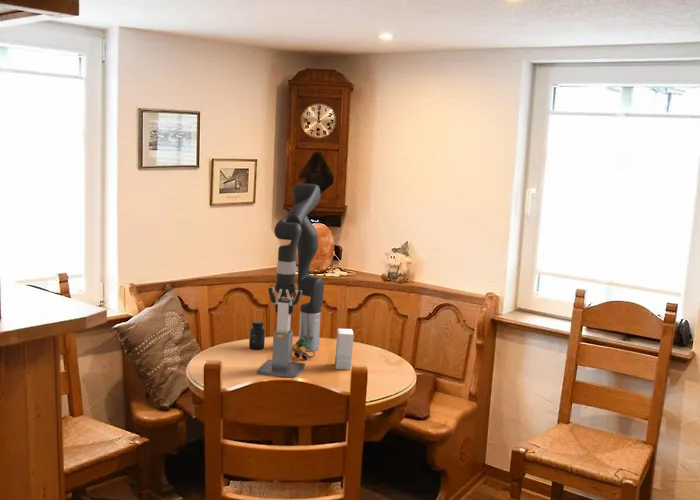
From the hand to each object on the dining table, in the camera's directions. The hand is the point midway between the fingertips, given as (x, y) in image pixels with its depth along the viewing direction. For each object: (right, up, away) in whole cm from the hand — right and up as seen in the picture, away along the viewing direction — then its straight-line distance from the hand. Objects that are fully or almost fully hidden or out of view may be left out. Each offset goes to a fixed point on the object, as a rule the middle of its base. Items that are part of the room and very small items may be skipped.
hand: (284, 313), depth 286 cm
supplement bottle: (-15, -19, +33) cm, 41 cm away
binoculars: (+6, -22, +21) cm, 31 cm away
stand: (-1, -24, +3) cm, 24 cm away
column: (-1, -15, +2) cm, 15 cm away
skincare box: (+24, -24, +13) cm, 36 cm away
